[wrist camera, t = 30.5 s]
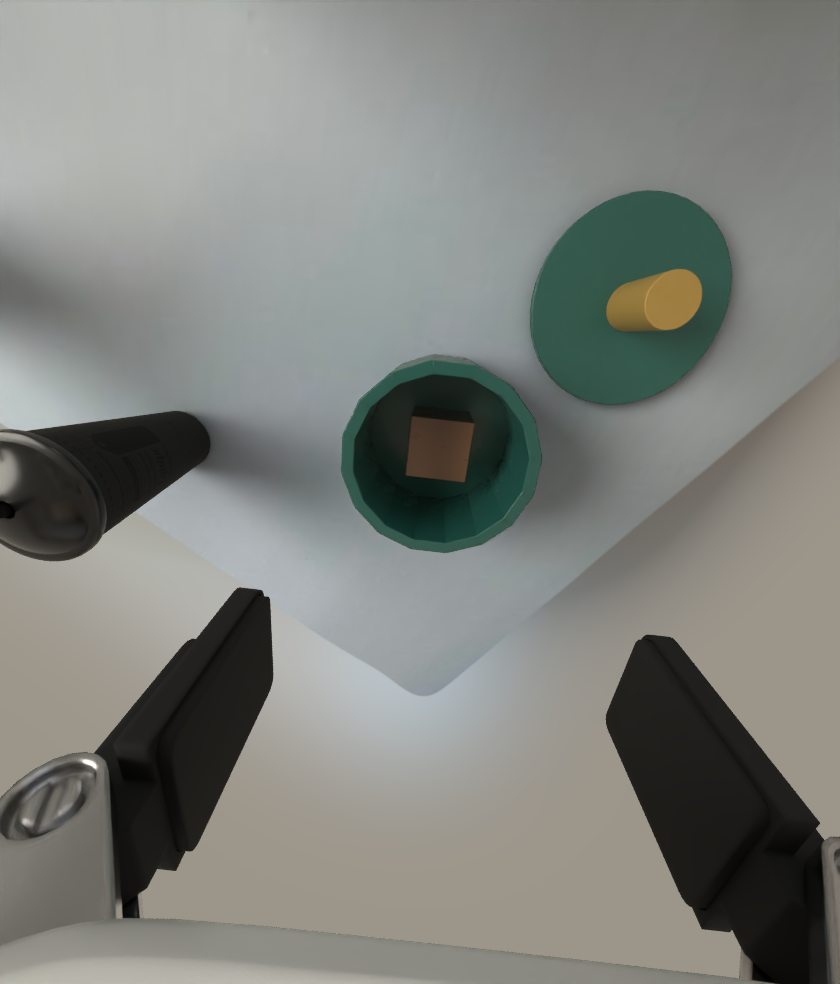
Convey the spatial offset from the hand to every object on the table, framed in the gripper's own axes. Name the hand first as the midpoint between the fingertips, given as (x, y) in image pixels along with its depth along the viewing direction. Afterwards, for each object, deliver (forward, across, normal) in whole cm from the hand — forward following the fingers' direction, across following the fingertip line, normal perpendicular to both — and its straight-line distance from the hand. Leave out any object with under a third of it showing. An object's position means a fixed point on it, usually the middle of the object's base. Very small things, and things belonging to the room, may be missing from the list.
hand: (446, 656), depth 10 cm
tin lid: (+24, -12, -11) cm, 29 cm away
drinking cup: (+24, +22, +3) cm, 33 cm away
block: (+24, 0, 0) cm, 24 cm away
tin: (+24, 0, 0) cm, 24 cm away
